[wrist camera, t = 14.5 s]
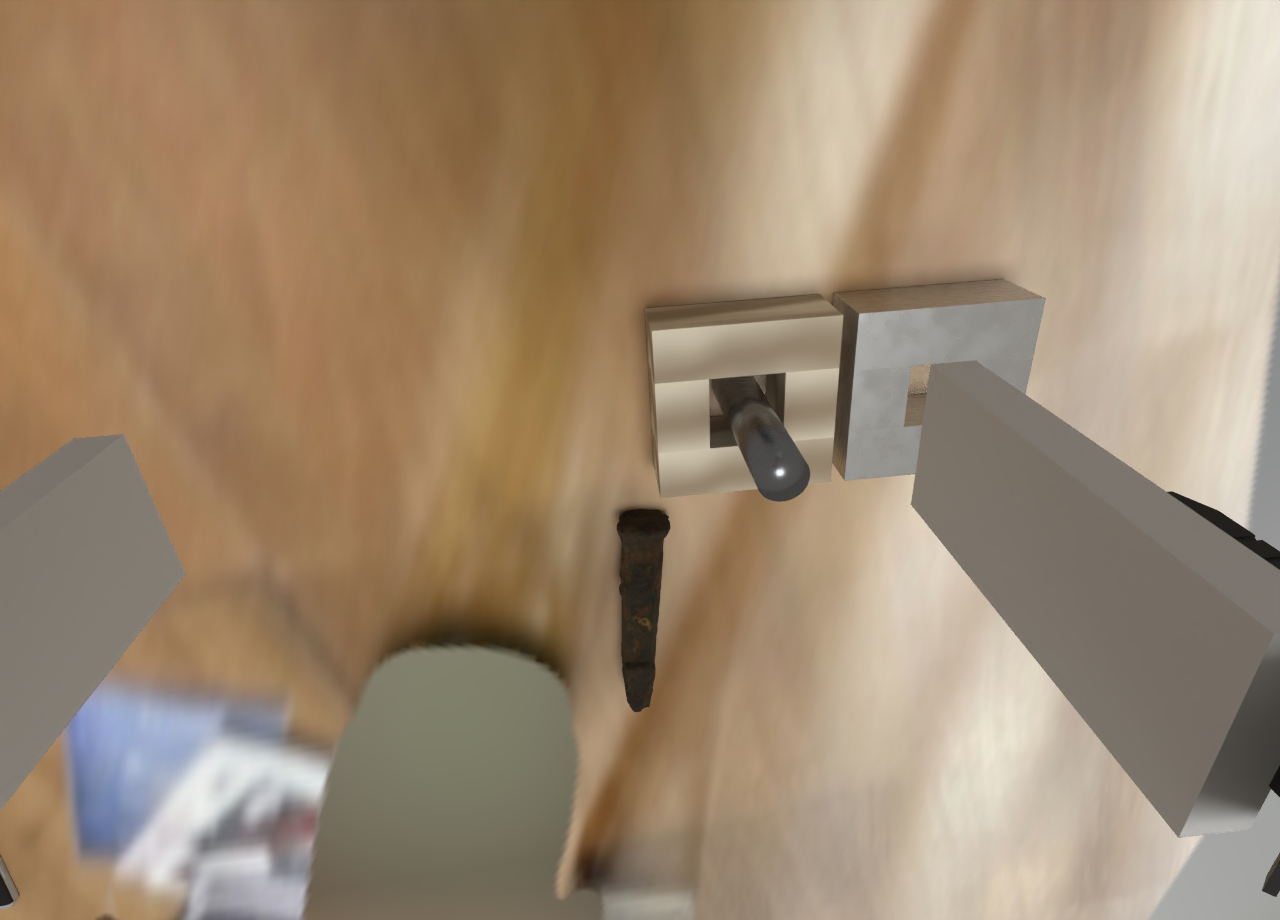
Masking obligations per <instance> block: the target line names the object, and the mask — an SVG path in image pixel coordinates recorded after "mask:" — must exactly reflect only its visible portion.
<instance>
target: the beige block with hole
mask: <svg viewBox="0 0 1280 920" xmlns="http://www.w3.org/2000/svg"><path fill="white" fill-rule="evenodd" d="M645 324H646V341H647V359H648V377H649V394H650V412H651V430H652V447H653V464H654V469H655V474H656V478H657V483H658V488H659V492H660V497H661V498H665V497H676V496H687V495H697V494H708V493H719V492H729V491H740V490H750V489H758V488H757V486H756V484H755V481H754V479H753V477H752V475H751V473H750V471H749V468H748V466H747V464H746V462H745V460H744V458H743V455H742V453H741V451H740V449H739V447H738V445H737V442H736V440H735V438H734V436H733V434H732V432H731V429H730V427H729V425H728V423H727V421H726V419H725V416H714V417H710V414H709V379H718V378H729V377H741V376H752V375H764V374H767V377H766V398H767V400H768V401H769V403H770V404H771V406H772V408H773V409H774V411H775V412H776V414H777V416H778V417H779V419H780V421H781V422H782V424H783V425H784V427H785V429H786V430H787V432H788V433H789V435H790V437H791V438H792V440H793V441H794V443H795V445H796V446H797V448H798V449H799V451H800V453H801V454H802V456H803V458H804V459H805V461H806V462H807V464H808V466H809V469H810V480H809V483H808V484H814V483H825V482H831V470H832V457H833V444H834V431H835V418H836V405H837V392H838V379H839V366H840V353H841V340H842V327H843V314H842V313H840V312H839V311H838V310H837V309H836V308H835V307H833V306H832V305H831V304H830V303H829V302H828V301H826V300H825V299H824V298H823V297H822V296H821V295H819V294H815V295H802V296H790V297H778V298H766V299H753V300H741V301H729V302H717V303H704V304H692V305H680V306H667V307H655V308H645Z"/></svg>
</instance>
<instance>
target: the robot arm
mask: <svg viewBox="0 0 1280 920" xmlns="http://www.w3.org/2000/svg"><path fill="white" fill-rule="evenodd" d="M911 505H912V506H913V508H914V509H915V510H916V511H917V512H918V514H919V515H920V516H921V517H922V519H923V520H924V521H925V522H926V524H927V525H928V526H929V527H930V529H931V530H932V531H933V532H934V534H935V535H936V536H937V537H938V539H939V540H940V541H941V542H942V544H943V545H944V546H945V547H946V549H947V550H948V551H949V552H950V554H951V555H952V556H953V557H954V559H955V560H956V561H957V562H958V564H959V565H960V566H961V567H962V569H963V570H964V571H965V572H966V574H967V575H968V576H969V577H970V578H971V580H972V581H973V582H974V583H975V585H976V586H977V587H978V588H979V590H980V591H981V592H982V593H983V595H984V596H985V597H986V598H987V600H988V601H989V602H990V603H991V605H992V606H993V607H994V608H995V610H996V611H997V612H998V613H999V615H1000V616H1001V617H1002V618H1003V620H1004V621H1005V622H1006V623H1007V625H1008V626H1009V627H1010V628H1011V630H1012V631H1013V632H1014V633H1015V635H1016V636H1017V637H1018V638H1019V640H1020V641H1021V642H1022V643H1023V644H1024V646H1025V647H1026V648H1027V649H1028V651H1029V652H1030V653H1031V654H1032V656H1033V657H1034V658H1035V659H1036V661H1037V662H1038V663H1039V664H1040V666H1041V667H1042V668H1043V669H1044V671H1045V672H1046V673H1047V674H1048V676H1049V677H1050V678H1051V679H1052V681H1053V682H1054V683H1055V684H1056V686H1057V687H1058V688H1059V689H1060V691H1061V692H1062V693H1063V694H1064V696H1065V697H1066V698H1067V699H1068V701H1069V702H1070V703H1071V704H1072V706H1073V707H1074V708H1075V709H1076V710H1077V712H1078V713H1079V714H1080V715H1081V717H1082V718H1083V719H1084V720H1085V722H1086V723H1087V724H1088V725H1089V727H1090V728H1091V729H1092V730H1093V732H1094V733H1095V734H1096V735H1097V737H1098V738H1099V739H1100V740H1101V742H1102V743H1103V744H1104V745H1105V747H1106V748H1107V749H1108V750H1109V752H1110V753H1111V754H1112V755H1113V757H1114V758H1115V759H1116V760H1117V762H1118V763H1119V764H1120V765H1121V767H1122V768H1123V769H1124V770H1125V772H1126V773H1127V774H1128V775H1129V776H1130V778H1131V779H1132V780H1133V781H1134V783H1135V784H1136V785H1137V786H1138V788H1139V789H1140V790H1141V791H1142V793H1143V794H1144V795H1145V796H1146V798H1147V799H1148V800H1149V801H1150V803H1151V804H1152V805H1153V806H1154V808H1155V809H1156V810H1157V811H1158V813H1159V814H1160V815H1161V816H1162V818H1163V819H1164V820H1165V821H1166V823H1167V824H1168V825H1169V826H1170V828H1171V829H1172V830H1173V831H1174V833H1175V834H1176V835H1177V836H1178V838H1181V837H1190V836H1198V835H1206V834H1215V833H1222V832H1231V831H1238V830H1247V829H1250V827H1251V825H1252V823H1253V822H1254V820H1255V818H1256V816H1257V814H1258V812H1259V810H1260V809H1261V807H1262V805H1263V803H1264V801H1265V799H1266V797H1267V795H1268V793H1269V792H1270V790H1271V789H1272V790H1273V791H1274V792H1275V793H1276V794H1277V795H1278V796H1279V797H1280V551H1278V550H1277V549H1275V548H1274V547H1272V546H1271V545H1269V544H1268V543H1266V542H1265V541H1263V540H1258V541H1257V540H1256V539H1255V535H1254V534H1253V533H1251V532H1250V531H1248V530H1247V529H1245V528H1244V527H1242V526H1241V525H1239V524H1238V523H1236V522H1235V521H1233V520H1232V519H1230V518H1229V517H1227V516H1226V515H1224V514H1223V513H1221V512H1219V511H1218V510H1215V509H1213V508H1211V507H1208V506H1206V505H1203V504H1201V503H1199V502H1196V501H1194V500H1191V499H1189V498H1187V497H1184V496H1182V495H1179V494H1177V493H1175V492H1166V491H1164V490H1163V489H1161V488H1160V487H1158V486H1157V485H1156V484H1154V483H1153V482H1151V481H1150V480H1148V479H1147V478H1145V477H1144V476H1142V475H1141V474H1140V473H1138V472H1137V471H1135V470H1134V469H1132V468H1131V467H1129V466H1128V465H1127V464H1125V463H1124V462H1122V461H1121V460H1119V459H1118V458H1116V457H1115V456H1113V455H1112V454H1111V453H1109V452H1108V451H1106V450H1105V449H1103V448H1102V447H1100V446H1099V445H1097V444H1096V443H1095V442H1093V441H1092V440H1090V439H1089V438H1087V437H1086V436H1084V435H1083V434H1082V433H1080V432H1079V431H1077V430H1076V429H1074V428H1073V427H1071V426H1070V425H1068V424H1067V423H1066V422H1064V421H1063V420H1061V419H1060V418H1058V417H1057V416H1055V415H1054V414H1053V413H1051V412H1050V411H1048V410H1047V409H1045V408H1044V407H1042V406H1041V405H1039V404H1038V403H1037V402H1035V401H1034V400H1032V399H1031V398H1029V397H1028V396H1026V395H1025V394H1024V393H1022V392H1021V391H1019V390H1018V389H1016V388H1015V387H1013V386H1012V385H1010V384H1009V383H1008V382H1006V381H1005V380H1003V379H1002V378H1000V377H999V376H997V375H996V374H994V373H993V372H992V371H990V370H989V369H987V368H986V367H984V366H983V365H981V364H980V363H979V362H977V361H976V360H974V361H962V362H951V363H939V364H931V367H930V374H929V381H928V388H927V395H926V403H925V410H924V417H923V424H922V431H921V438H920V445H919V452H918V459H917V467H916V474H915V481H914V488H913V495H912V502H911ZM185 575H186V574H185V571H184V569H183V567H182V565H181V562H180V560H179V558H178V556H177V553H176V551H175V549H174V547H173V544H172V542H171V540H170V538H169V535H168V533H167V531H166V529H165V526H164V524H163V522H162V520H161V517H160V515H159V513H158V510H157V508H156V506H155V504H154V501H153V499H152V497H151V495H150V492H149V490H148V488H147V486H146V483H145V481H144V479H143V477H142V474H141V472H140V470H139V468H138V465H137V463H136V461H135V459H134V456H133V454H132V452H131V450H130V447H129V445H128V443H127V441H126V438H125V436H124V434H122V435H110V436H98V437H87V438H75V439H73V440H71V441H70V442H69V443H67V444H66V445H64V446H63V447H62V448H60V449H59V450H57V451H56V452H55V453H53V454H52V455H50V456H49V457H48V458H46V459H45V460H43V461H42V462H41V463H39V464H38V465H36V466H35V467H34V468H32V469H31V470H29V471H28V472H27V473H25V474H24V475H22V476H21V477H20V478H18V479H17V480H15V481H14V482H13V483H11V484H10V485H8V486H7V487H6V488H4V489H3V490H1V491H0V810H1V809H2V808H3V806H4V805H5V804H6V803H7V801H8V800H9V799H10V798H11V796H12V795H13V794H14V792H15V791H16V790H17V789H18V787H19V786H20V785H21V784H22V782H23V781H24V780H25V778H26V777H27V776H28V775H29V773H30V772H31V771H32V770H33V768H34V767H35V766H36V764H37V763H38V762H39V761H40V759H41V758H42V757H43V756H44V754H45V753H46V752H47V750H48V749H49V748H50V747H51V745H52V744H53V743H54V741H55V740H56V739H57V738H58V736H59V735H60V734H61V733H62V731H63V730H64V729H65V727H66V726H67V725H68V724H69V722H70V721H71V720H72V719H73V717H74V716H75V715H76V713H77V712H78V711H79V710H80V708H81V707H82V706H83V705H84V703H85V702H86V701H87V699H88V698H89V697H90V696H91V694H92V693H93V692H94V691H95V689H96V688H97V687H98V685H99V684H100V683H101V682H102V680H103V679H104V678H105V677H106V675H107V674H108V673H109V671H110V670H111V669H112V668H113V666H114V665H115V664H116V663H117V661H118V660H119V659H120V657H121V656H122V655H123V654H124V652H125V651H126V650H127V648H128V647H129V646H130V645H131V643H132V642H133V641H134V640H135V638H136V637H137V636H138V634H139V633H140V632H141V631H142V629H143V628H144V627H145V626H146V624H147V623H148V622H149V620H150V619H151V618H152V617H153V615H154V614H155V613H156V612H157V610H158V609H159V608H160V606H161V605H162V604H163V603H164V601H165V600H166V599H167V598H168V596H169V595H170V594H171V592H172V591H173V590H174V589H175V587H176V586H177V585H178V584H179V582H180V581H181V580H182V578H183V577H184V576H185ZM1262 891H1263V892H1266V893H1268V894H1270V895H1272V896H1275V897H1276V896H1277V894H1278V893H1279V891H1280V853H1279V855H1278V857H1277V859H1276V860H1275V862H1274V864H1273V865H1272V867H1271V869H1270V871H1269V872H1268V874H1267V877H1266V880H1265V883H1264V887H1263V889H1262Z"/></svg>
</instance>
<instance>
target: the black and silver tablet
mask: <svg viewBox="0 0 1280 920" xmlns="http://www.w3.org/2000/svg"><path fill="white" fill-rule="evenodd" d="M18 897H19V893H18V891H17V889H16V887H15V885H14V883H13V881H12V879H11V877H10V874H9V872H8V870H7V868H6V866H5V864H4V862H3V860H2V858H1V856H0V909H7V908H10V907H12V906H13V905H14V903H15V902H16V900H17V899H18Z"/></svg>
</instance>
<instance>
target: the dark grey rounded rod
mask: <svg viewBox="0 0 1280 920" xmlns="http://www.w3.org/2000/svg"><path fill="white" fill-rule="evenodd" d="M712 390H713V393H714V395H715V397H716V399H717V401H718V403H719V406H720V408H721V410H722V412H723V414H724V416H725V419H726V421H727V423H728V425H729V427H730V429H731V432H732V434H733V436H734V438H735V440H736V442H737V445H738V447H739V449H740V451H741V453H742V455H743V458H744V460H745V462H746V464H747V466H748V468H749V471H750V473H751V475H752V477H753V479H754V481H755V484H756V486H757V488H758V490H759V492H760V493H761V494H762V495H763V496H764V497H765V498H767V499H769V500H772V501H787V500H790V499H793V498H795V497H796V496H798V495H799V494H801V493H802V492H803V491H804V489H805V488H806V487H807V485H808V483H809V480H810V469H809V466H808V464H807V462H806V461H805V459H804V458H803V456H802V454H801V453H800V451H799V449H798V448H797V446H796V445H795V443H794V441H793V440H792V438H791V437H790V435H789V433H788V432H787V430H786V429H785V427H784V425H783V424H782V422H781V421H780V419H779V417H778V416H777V414H776V412H775V411H774V409H773V408H772V406H771V404H770V403H769V401H768V400H767V398H766V396H765V395H764V393H763V392H762V390H761V388H760V387H759V385H758V384H757V382H756V380H755V379H754V377H753V375H752V376H741V377H729V378H718V379H713V380H712Z"/></svg>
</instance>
